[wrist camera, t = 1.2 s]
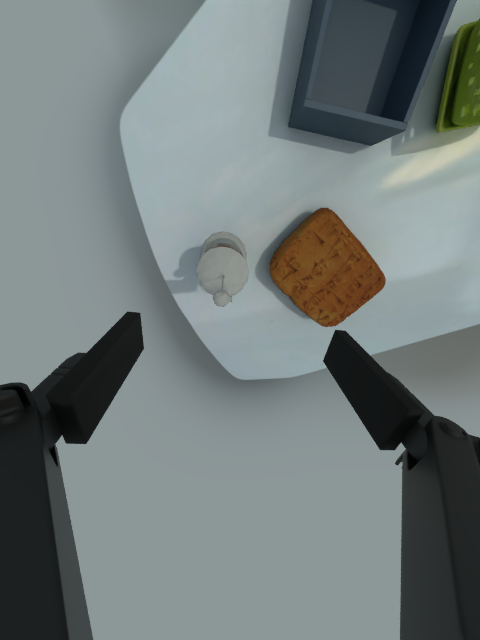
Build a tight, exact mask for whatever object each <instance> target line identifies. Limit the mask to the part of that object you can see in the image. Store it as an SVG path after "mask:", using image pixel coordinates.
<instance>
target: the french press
mask: <svg viewBox="0 0 480 640" xmlns="http://www.w3.org/2000/svg"><path fill="white" fill-rule="evenodd" d="M246 255H247V254H246V250H245V246H244V244H243V243H242V242H241V240H240V239H239V238H238V237H237V236H235V235H233V234H232V233H227V232H219V233H216V234H212V235H211V236H210V237H209V238H208V239H207V240H206V241H205V243H204V245H203V247H202V250H201V259H200V261H199V263H198V265H197V277H198V280H199V282H200V285H201V286H202V287H203V288H204V289H205V290H206V292H208V293H210V294H212V295H214V297H213V299H214V303H215V304H216V305H217V306H223V307H224V306H225V305H227V304H228V303H229V300H230V299H231V302H232V296H233V295H235V294H237V293H238V292H239V291H241V290H242V289H243V287H244V286H245V284H246V282H247V280H248V273H249V270H248V266H247V262H246Z"/></svg>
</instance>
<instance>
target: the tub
mask: <svg viewBox="0 0 480 640" xmlns="http://www.w3.org/2000/svg"><path fill="white" fill-rule="evenodd" d="M456 1H457V0H313V3H312V8H311V13H310V18H309V23H308V28H307V33H306V38H305V43H304V49H303V54H302V59H301V64H300V69H299V74H298V79H297V84H296V90H295V95H294V100H293V105H292V110H291V115H290V120H289V125H288V127H291V128H295V129H300V130H304V131H309V132H313V133H318V134H322V135H326V136H331V137H335V138H340V139H344V140H349V141H353V142H357V143H362V144H366V145H371V146H372V145H374V144H376V143H379V142H381V141H383V140H385V139H387V138H390V137H392V136H394V135H396V134H399V133H401V132H403V131H405V130H406V127H407V125H408V122H409V120H410V117H411V115H412V112H413V110H414V107H415V105H416V102H417V99H418V97H419V94H420V92H421V89H422V87H423V84H424V82H425V79H426V77H427V74H428V72H429V69H430V67H431V64H432V62H433V59H434V56H435V54H436V51H437V49H438V46H439V44H440V41H441V39H442V36H443V34H444V31H445V29H446V26H447V24H448V21H449V19H450V16H451V14H452V11H453V8H454V6H455V3H456Z"/></svg>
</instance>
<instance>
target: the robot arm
mask: <svg viewBox="0 0 480 640" xmlns="http://www.w3.org/2000/svg"><path fill="white" fill-rule="evenodd" d="M143 349H144V346H143V336H142V326H141V317H140V313H136V312H127V313H126V314H125V315H124V316H123V317H122V318H121V319H120V320H119V321H118V322H117V323H116V324H115V325H114V326H113V327H112V328H111V329H110V330H109V331H108V332H107V333H106V334H105V335H104V336H103V337H102V338H101V339H100V340H99V341H98V342H97V343H96V344H95V345H94V346H93V347H92V348H91V349H90V350H89V351H88V352H87V353H77V354H75V355H73V356H72V357H69V358H68V359H66V360H65V361H64V362H63V363H62V364H61V365H60V366H59V367H58V368H57V369H55V370H54V371H53V372H52V373H51V375H49V376H48V377H47V378H46V379H45V380H43V381H42V382H41V383H40V384H39V385H38V386H37V387H36V388H35V389H34V390H33V391H32V392H31V391H30V389H29V387H28V386H27V385H26V384H23V383H8V384H4V385H0V640H93V637H92V631H91V627H90V620H89V615H88V610H87V605H86V600H85V594H84V589H83V584H82V578H81V573H80V568H79V562H78V557H77V552H76V547H75V541H74V536H73V530H72V525H71V520H70V515H69V509H68V504H67V499H66V493H65V488H64V484H63V478H62V473H61V467H60V462H59V456H58V451H57V447H56V445H55V443H56V442H57V441H58V440H59V438H60V437H61V435H63V437H64V440H65V442H66V443H68V444H69V443H70V444H86V443H87V442H88V440H89V439H90V437H91V435H92V433H93V431H94V430H95V429H96V427H97V425H98V424H99V422H100V420H101V419H102V417H103V415H104V414H105V412H106V410H107V409H108V407H109V405H110V404H111V402H112V400H113V399H114V397H115V395H116V394H117V392H118V390H119V389H120V387H121V385H122V384H123V382H124V380H125V379H126V377H127V376H128V374H129V372H130V371H131V369H132V367H133V365H134V364H135V362H136V361H137V359H138V357H139V356H140V354H141V352H142V351H143ZM323 362H324V363H325V365H326V366H327V368H328V370H329V371H330V373H331V374H332V376H333V377H334V379H335V380H336V382H337V383H338V385H339V387H340V388H341V390H342V391H343V393H344V394H345V396H346V397H347V399H348V401H349V402H350V404H351V405H352V407H353V408H354V410H355V412H356V413H357V414H358V416H359V418H360V419H361V421H362V423H363V424H364V426H365V427H366V429H367V430H368V432H369V433H370V435H371V437H372V438H373V440H374V441H375V443H376V444H377V446H378V447H379V449H380V450H395V449H396V448H397V446H398V445H399V444H400V443H401V442H402V444H403V445H404V447H405V448H406V450H405V451H404V452H403V453H402V454H401V456H400V457H399V458H398V459H397V460H396V462H395V464H396V465H399V463H400V462H403V466H402V540H401V542H402V545H401V546H402V547H401V612H400V615H401V616H400V640H480V438H479V437H475V436H472V435H469V434H467V433H466V431H465V430H464V429H463V428H461V427H460V426H459V425H457V424H456V423H454V422H452V421H450V420H449V419H446V418H443V417H439V416H434V415H433V414H432V413H431V412H430V411H429V410H428V409H427V408H426V407H425V406H424V405H423V404H422V403H421V402H420V401H419V400H418V399H417V398H416V397H415V396H414V395H413V394H411V392H410V391H409V390H408V389H407V388H405V386H404V385H403V384H402V383H401V382H400V381H399V380H398V379H396V378H395V377H393V376H392V375H391V374H389V373H388V372H386V371H385V370H384V369H383V368H382V367H381V366H380V365H379V364H378V363H377V362H376V361H375V360H374V359H373V358H372V357H371V356H370V355H369V354H368V353H367V352H366V351H365V350H364V349H363V348H362V347H361V346H360V345H359V344H358V343H357V342H356V341H355V340H354V339H353V338H352V337H351V336H350V335H349V334H348V333H347V332H346V331H341V330H335V332H334V335H333V337H332V340H331V342H330V345H329V347H328V350H327V352H326V355H325V357H324V360H323Z"/></svg>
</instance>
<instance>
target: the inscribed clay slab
mask: <svg viewBox="0 0 480 640" xmlns="http://www.w3.org/2000/svg"><path fill="white" fill-rule="evenodd" d="M270 274H271V277H272V280H273V282H274V283H275V284H276V285H277V286H278V288H280V289H281V290H282V292H283V293H284V294H286V295H287V296H289V298H290V299H291V300H292V301H293V302H294V304H295V305H296V306H297V307H299V308H300V309H301V310H302V311H303V312H304V313H305V314H306V315H307V316H309V317H310V318H311V319H313V320H314V321H316V322H317V323H319V324H320V325H321V326H325V327H328V326H330V327H332V326H336V325H338V324H339V323H341V322H342V321H344V320H345V319H346V317H349V316H350V315H351V314H352V313H354V312H355V311H356V310H358V309H359V308H360V307H361V306H362V305H364V304H365V303H366V302H367V301H369V300H370V299H371V298H373V296H375V295H376V294H377V293H378V292H379V291H381V290H382V289H383V287H384V285H385V282H386V281H385V276H384V274H383V272H382V271H381V270H380V268H379V266H378V265H377V263H376V262H375V261H374V259H373V258H372V257H371V256H370V254H369V253H368V251H367V250H366V249H365V247H364V246H363V245H362V244H361V242H360V241H359V240H358V239H357V238H356V237H355V236H354V234H353V233H352V232H351V231H350V230H349V229H348V228H347V227H346V225H345V224H344V223H343V221H342V220H341V219H340V218H339V217H338V216H337V215H336V214H335V213H334V212H333V211H332V210H330V209H329V208H320V209H318V210H317V211H315V212H314V213H312V214H311V215H310V216H309V217H308V218H307V219H306V220H305V221H303V222H302V223H301V224H300V225H299V227H298V228H297V229H296V230H295V231H294V232H293V233H292V234H291V235H289V236H288V237H287V238H286V240H285V241H284V242H283V243H282V245H281V246H280V247H279V248H278V250H277V251H276V252H275V253H274V256H273V257H272V259H271V262H270Z"/></svg>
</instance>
